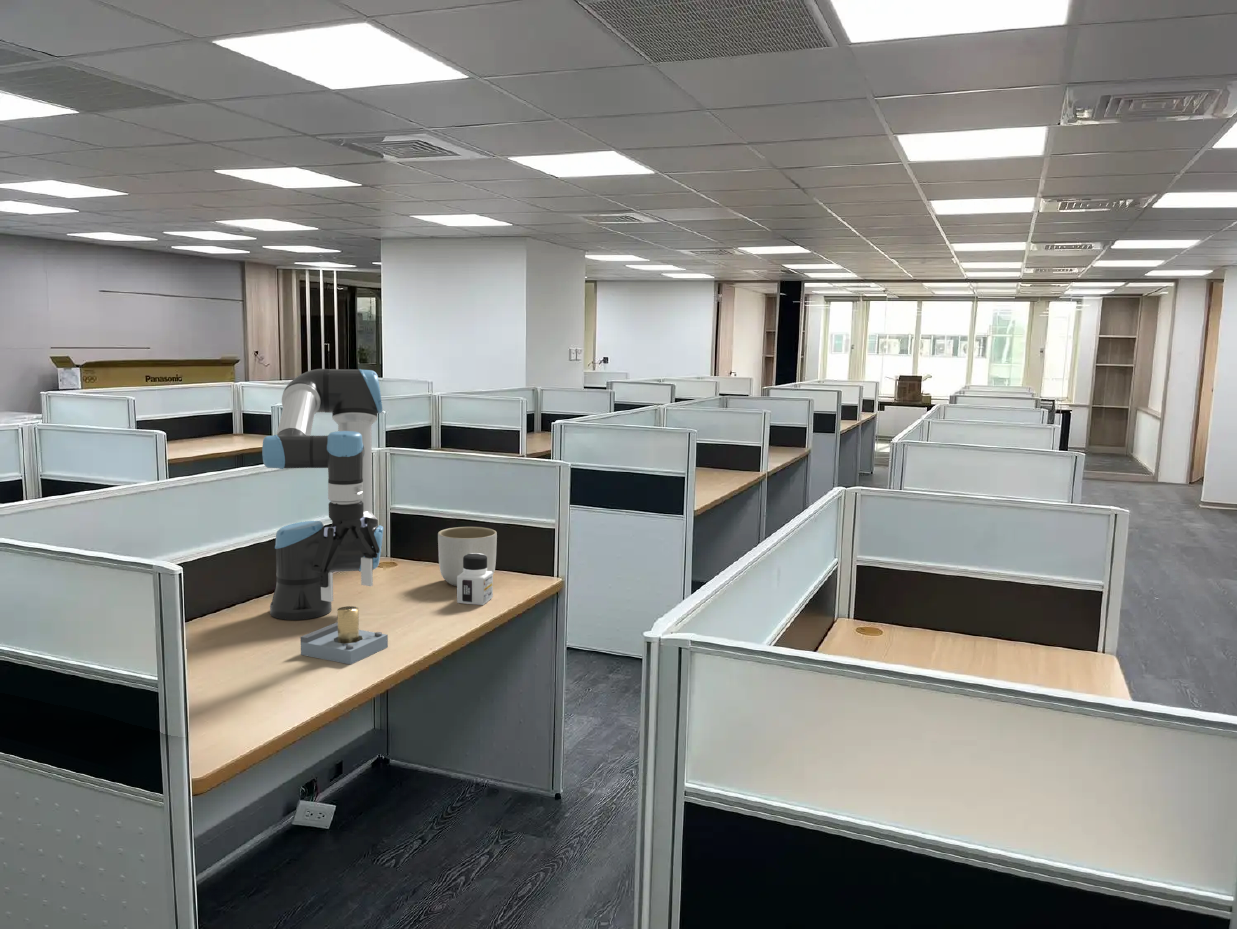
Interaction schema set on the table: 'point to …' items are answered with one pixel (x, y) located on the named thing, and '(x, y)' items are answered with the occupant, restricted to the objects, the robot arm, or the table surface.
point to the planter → (464, 549)
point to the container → (475, 580)
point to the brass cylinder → (348, 624)
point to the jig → (341, 645)
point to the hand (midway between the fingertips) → (347, 592)
